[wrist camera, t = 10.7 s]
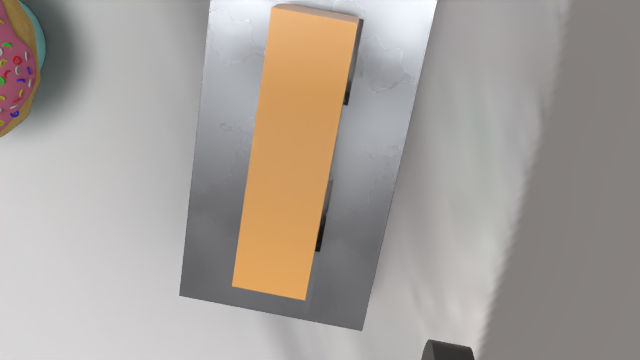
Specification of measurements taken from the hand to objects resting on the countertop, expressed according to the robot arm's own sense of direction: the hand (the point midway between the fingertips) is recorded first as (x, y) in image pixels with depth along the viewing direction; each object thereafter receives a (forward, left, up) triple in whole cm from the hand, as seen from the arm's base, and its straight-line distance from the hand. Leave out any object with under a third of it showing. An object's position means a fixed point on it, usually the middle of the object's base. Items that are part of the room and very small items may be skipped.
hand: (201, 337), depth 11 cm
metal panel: (0, 0, -20) cm, 20 cm away
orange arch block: (0, +1, -19) cm, 19 cm away
